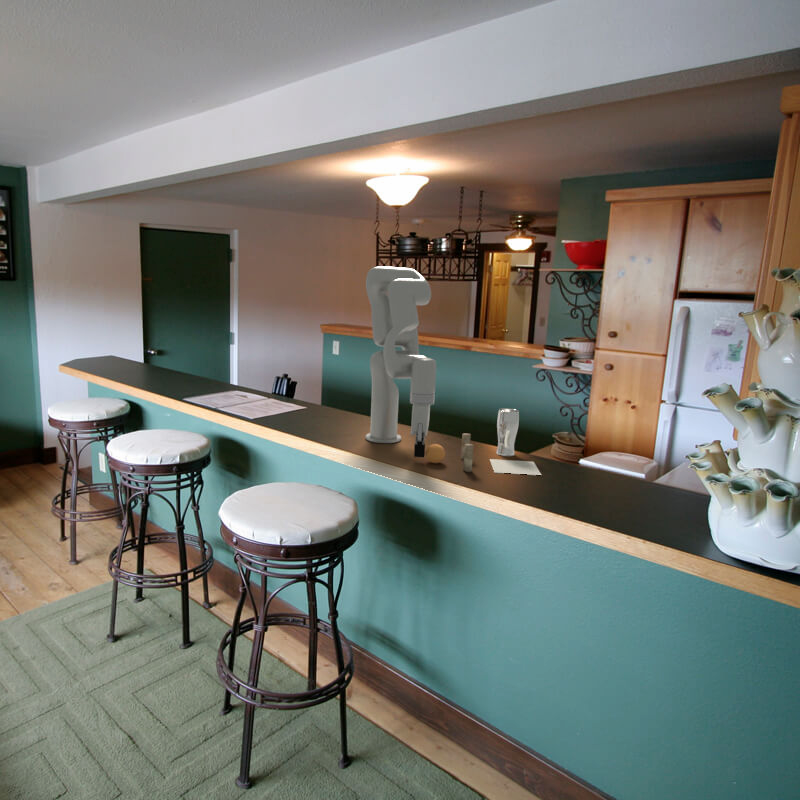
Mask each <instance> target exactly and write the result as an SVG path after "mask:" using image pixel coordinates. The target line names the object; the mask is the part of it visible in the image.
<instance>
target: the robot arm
mask: <svg viewBox="0 0 800 800" xmlns="http://www.w3.org/2000/svg"><path fill="white" fill-rule="evenodd" d="M365 288H366V294H367V297H368V301H369V303H370V308H371V326H372V327H371V329H372V339H373V342H374V344H375V345H376V346H378V347H383V350H379V351H376V352H374V353H373V354H372V355H371V356H370V360H369V368H370V376H371V399H370V400H371V401H370V402H371V404H370V405H371V406H370V430H369V432H368V433H366V434H365V440H367V441H369V442H372V443H377V444H378V443H379V444H392V443H398V442H400V441H402V435H400V434H398V417H399V416H398V415H399V398H400V397H399V396H400V395H399V394H400V392H399V387H398V386H397V384H396V383H395V381H394V380H406V379H407V380H408V379H409V380H410V386H409V387H410V388H409V389H410V392H409V403H410V404H411V405H412V410H411V422H410V423H411V426H410V427H411V428H410V436H411V437H413V436H415V441H414V442H415V443H414V447H413V448H414V449H413V457H414V458H423V459H424V458H425V457H426V451H425V450H426V443H425V442H426V441H425V440H426V437H427V435H428V432H429V425H430V417H431V416H430V413H431V406H433V405H435V396H436V395H435V394H436V377H437V361H436V360H435V358H434V359H433V358H430V357H427V356H426V355H424V354H423V355H422V354H420V348H419V347H420V346H419V344H420V343H419V332H418V329H417V327H418V326H419V325H420V324H419V323H420V321H419V314H418V309H417V306H426V305H428V304H429V303H430V301H431V298H432V289H431V286H430V284H429V281H427V279H426V278H425V277H424V276H423V275H422V274H421V273H419V272H418V271H417V270H415V269H414V268H410V267H397V266H396V267H395V266H383V265H381V266H375V267H372V268H369V270H368V271H367V274H366V280H365ZM396 348H401V349H402V350H396Z"/></svg>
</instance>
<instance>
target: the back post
mask: <svg viewBox="0 0 800 800" xmlns="http://www.w3.org/2000/svg"><path fill="white" fill-rule="evenodd" d="M471 435H472V434H471V433H462V436H461V438H462V439H461V449H460V459H461V460H464V448H465V444H471Z"/></svg>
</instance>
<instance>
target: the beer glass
mask: <svg viewBox="0 0 800 800" xmlns="http://www.w3.org/2000/svg"><path fill="white" fill-rule="evenodd" d="M519 413H520V411H519V410H518V409H516V408H507V407H506V408H504V407H502V408H499V409H498V413H497V420H496V422H497V423H496V428H497V430H496V431H497V441H498V442H497V449H496V452H495V453H496V455H498V456H500V455H501V457H513V456H515V443H516V437H517V434H518V430H519V422H520V414H519Z"/></svg>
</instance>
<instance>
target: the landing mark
mask: <svg viewBox="0 0 800 800" xmlns="http://www.w3.org/2000/svg"><path fill="white" fill-rule="evenodd" d="M489 461H490V464H491V467H492V469H493V470H494V471H493V473H494V474H504V473H511V474H510V475H520V474H527V475H526V476H536V475H541V476H542V473H541V472H540V470H539V468H538V467H537V465H536V463H535V462H534V461H526V460H511V459H510V460H509V459H496V458H495V459H494V458H489ZM541 476H540V477H541Z"/></svg>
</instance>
